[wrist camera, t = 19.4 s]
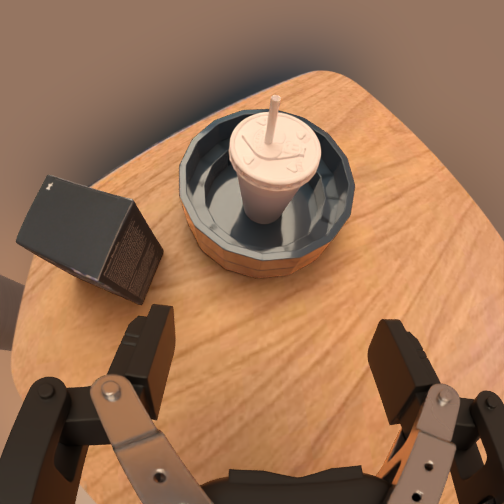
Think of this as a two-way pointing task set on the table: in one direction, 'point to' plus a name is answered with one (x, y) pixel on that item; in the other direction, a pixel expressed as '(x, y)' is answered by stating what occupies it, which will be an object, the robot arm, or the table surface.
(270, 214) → the smoothie
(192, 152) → the bowl
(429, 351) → the table surface
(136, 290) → the box
